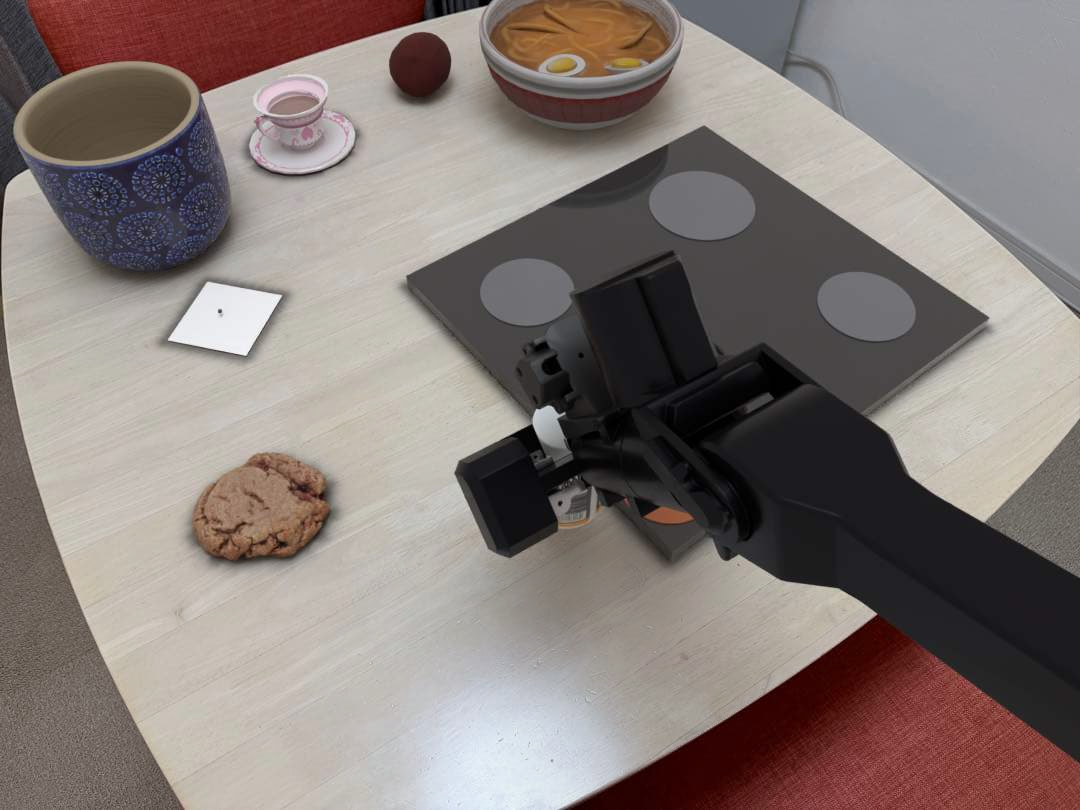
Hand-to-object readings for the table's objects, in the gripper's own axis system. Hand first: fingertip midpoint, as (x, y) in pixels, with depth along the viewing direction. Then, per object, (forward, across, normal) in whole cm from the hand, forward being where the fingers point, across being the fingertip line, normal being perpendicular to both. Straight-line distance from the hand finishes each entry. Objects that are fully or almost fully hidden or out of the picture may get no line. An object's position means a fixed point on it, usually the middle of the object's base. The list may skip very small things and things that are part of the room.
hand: (556, 435), depth 62 cm
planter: (+43, +16, -28) cm, 54 cm away
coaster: (+33, +15, -17) cm, 40 cm away
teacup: (+48, -2, -33) cm, 58 cm away
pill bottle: (+4, 0, +6) cm, 7 cm away
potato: (+50, -19, -35) cm, 64 cm away
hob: (+17, -24, -1) cm, 29 cm away
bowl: (+41, -33, -26) cm, 59 cm away
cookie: (+17, +20, -1) cm, 26 cm away
